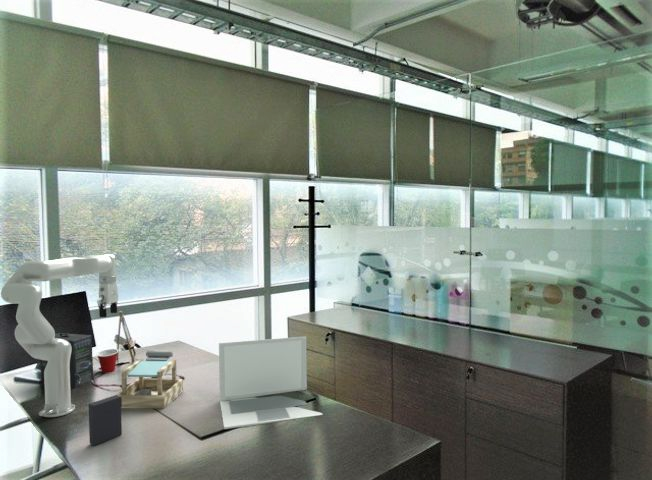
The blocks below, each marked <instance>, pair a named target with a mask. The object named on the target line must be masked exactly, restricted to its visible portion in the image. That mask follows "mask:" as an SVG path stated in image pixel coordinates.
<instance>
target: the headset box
mask: <svg viewBox="0 0 652 480" xmlns="http://www.w3.org/2000/svg"><path fill="white" fill-rule="evenodd" d="M92 336H93V335H91V334H78V333H77V334H76V333H65V332H64V333H63V332H57V333H55V337H54V338H59V339H64V340H66V341H68V342H69V343H70V344H71V347H72V352H71V357H70V389H77V388H79V387H81V386H83V385H86V384H87V383H90V382H92V381H93V380H94V361H93V342H92V340H93V339H92V338H93V337H92ZM47 363H48V361H46V360H40V372H41V373H40V375H41V376H40V377H41V384H43V385H45V383H44V371H45V368H46V365H47Z"/></svg>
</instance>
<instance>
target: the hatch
mask: <svg viewBox="0 0 652 480" xmlns="http://www.w3.org/2000/svg"><path fill="white" fill-rule="evenodd" d="M145 356H146V357H147V358H146V359H145V360H144V359H143V360H142V361H141V362H140V363H139V364H138V365H137V366H136V367H135V368H134V369H133V370H132V371H131V372H130V373H129V374H128V375H127V378H128V377H129V378H133V377H134V378H139V377H144V378H157V372H158V371H159V370H160V369H161V368H163V367H164V366H165V365H167V364H168V363H169V362H171V361H172V360H169V359H170V358H173V356H174V351H173V350H146V352H145Z"/></svg>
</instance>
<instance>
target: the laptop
mask: <svg viewBox="0 0 652 480" xmlns="http://www.w3.org/2000/svg"><path fill="white" fill-rule="evenodd" d="M307 356H308V355H307V336H294V337H283V338H282V337H280V338H279V337H278V338H270V339H258V340H257V339H256V340H255V339H254V340H242V341H230V342H229V341H228V342H219V343H218V362H219V363H218V365H219V366H218V369H219V374H218V375H219V376H218V377H219V404H220V409H221V410H220V411H222V412H221V418H223V419H222V424H223V430H229V429H234V428H236V429H237V428H245V427H250V426H251V427H252V426H258V425H265V424H271V423H277V422H283V421H284V422H286V421H291V420H297V419H304V418H310V417H311V418H312V417H318V416H323V415H324V414H323V412H319V411H315V410H309V409H306V408H302V407H300V406H307V405H308V403H307V402H306V400H301V399H296V398H292V397H288V396H284V395H277V394H282V393H283V394H285V393H289V392H297V391H298V392H299V391H304V390H307V388H308V383H307V382H308V378H307V377H308V375H307V374H308V372H307V369H308V368H307V365H308V363H307V359H308V358H307ZM275 394H276V395H275ZM269 395H273V396H269ZM259 396H264V397H259Z"/></svg>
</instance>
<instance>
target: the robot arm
mask: <svg viewBox="0 0 652 480" xmlns="http://www.w3.org/2000/svg"><path fill="white" fill-rule="evenodd" d="M116 263H117V262H116V256H115V254H111V253H110V254H109V253H106V254H99V255H97V254H96V255H95V254H89V255H85V256H84V257H65V258H63V257H62V258H58V259H50V260H49V259H48V260H28V261H26V262H24V263H22V265H21V266H20V267H19V268H18V269H17V270H16V271H15V272H14V273H13V274H12V275H11V276H10V278H8V280H7V281H6V282H5V283H4V285H3V287H1V290H0V296H1V297H0V298H1V299H2V300H3V301H4V302H6V303H8V304H15V305H17V304H18V305H17V309H16V315H15V319H16V322H17V325H16V327H15V328H14V337H15V340H16V342H17V343H18V344H19V345H20V346H21V347H22V348H23V350H24V351H26V353H28V355H29V356H31V357H32V358H34V359H36V360H40V361H41V360H46V361H48V363H47V365H46V368H45V371H44V383H45V384H44V400H45V401H44V408H43V409H42V410H40V411H39V412H38V416H40V417H43V418H44V417H45V418H56V417H58V418H59V417H61V416H65V415H68V414H71V413H72V412H73V411H75V410H76V405H75V404H74V403H72V401H71V400H72V399H71V393H72V392H71V388H70V357H71V352H72V347H71V344H70V343H69V342H68V341H66V340H64V339H59V338H54V337H55V334H56V332H55V329H54V327H53V326H52V325H51V323H50V322H49V321H48V320H47V318H46V317H45V316H44V315H43V314H42V313H41V310H40V305H41V301H42V297H43V290H42V287H40V286H39V285H38V284H35V283H32V282H47V281H49V282H50V281H56V280H60V279H66V278H72V277H81V276H88V275H94V274H95V275H96V274H98V285H99V287H98V299H97V301H96V303H97V306H98V311H99V318H107V315H108V314H107V305H109V307H110V309H109V311H110V314H111V313H112V314H118V301H119V292H118V290H119V289H118V285H117V268H116V267H117V266H116Z"/></svg>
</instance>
